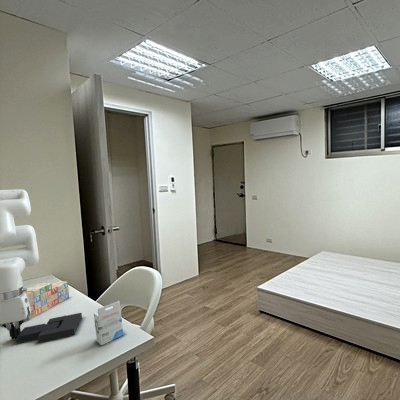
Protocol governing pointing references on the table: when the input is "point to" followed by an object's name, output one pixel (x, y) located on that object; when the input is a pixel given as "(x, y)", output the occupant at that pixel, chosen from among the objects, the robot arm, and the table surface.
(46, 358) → the table surface
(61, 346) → the table surface
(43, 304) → the stack of blocks
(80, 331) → the table surface
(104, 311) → the ink box
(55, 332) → the socket pad
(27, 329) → the pad
